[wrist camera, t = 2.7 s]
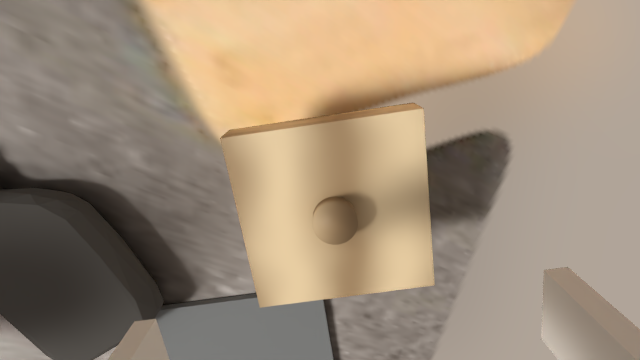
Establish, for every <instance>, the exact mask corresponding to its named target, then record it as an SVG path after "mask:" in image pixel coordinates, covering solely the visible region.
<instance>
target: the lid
mask: <svg viewBox="0 0 640 360" xmlns="http://www.w3.org/2000/svg"><path fill="white" fill-rule="evenodd" d="M220 139H221V144H222V148H223V152H224V157H225V161H226V165H227V169H228V174H229V178H230V182H231V186H232V191H233V195H234V199H235V204H236V208H237V212H238V216H239V221H240V225H241V229H242V234H243V238H244V242H245V246H246V251H247V255H248V259H249V263H250V268H251V272H252V276H253V281H254V285H255V289H256V293H257V298H258V302H259V306H260V308H261V307H269V306H277V305H284V304H292V303H300V302H308V301H315V300H323V299H331V298H339V297H347V296H354V295H362V294H370V293H378V292H385V291H393V290H401V289H409V288H416V287H424V286H432V285H434V271H433V254H432V238H431V221H430V205H429V189H428V172H427V156H426V140H425V123H424V108H422V107H420V106H418V105H416V104H415V103H409V104H401V105H394V106H388V107H381V108H374V109H367V110H361V111H354V112H347V113H340V114H334V115H327V116H320V117H313V118H307V119H300V120H293V121H286V122H280V123H273V124H266V125H259V126H253V127H246V128H239V129H232V130H229V131H228V132H227V133H226V134H224V135H223V136H222V137H221V138H220Z"/></svg>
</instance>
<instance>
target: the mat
mask: <svg viewBox="0 0 640 360" xmlns="http://www.w3.org/2000/svg"><path fill="white" fill-rule="evenodd" d="M154 319H156V321H157V324H158V327H159V330H160V333H161V336H162V339H163V342H164V345H165V348H166V351H167V354H168V357H169V360H334V358H333V352H332V346H331V340H330V334H329V328H328V322H327V316H326V311H325V305H324V299H323V300H315V301H308V302H300V303H292V304H284V305H277V306H269V307H261V308H260V306H259V302H258V298H257V293H255V294H247V295H240V296H232V297H224V298H217V299H209V300H201V301H194V302H186V303H178V304H171V305H163V306H162V307H161V310H160V311H159V313H158V314H157V316H156V317H155V318H154Z"/></svg>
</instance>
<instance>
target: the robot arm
mask: <svg viewBox="0 0 640 360" xmlns="http://www.w3.org/2000/svg"><path fill="white" fill-rule="evenodd" d="M541 339H542V340H543V341H544V342H545V344H546V345H547V346H548V348H549V349H550V350H551V352H553V354H554V355H555V357H556V358H557V359H558V360H640V329H639V328H638V327H636V326H635V325H634V324H633V323H632V322H631V321H629V320H628V319H627V318H626V317H625V316H624V315H623V314H621V313H620V312H619V311H618V310H617V309H616V308H614V307H613V306H612V305H611V304H610V303H609V302H607V301H606V300H605V299H604V298H603V297H602V296H601V295H599V294H598V293H597V292H596V291H595V290H594V289H592V288H591V287H590V286H589V285H588V284H587V283H586V282H584V281H583V280H582V279H581V278H580V277H579V276H577V275H576V274H575V273H574V272H573V271H572V270H571V269H569V268H568V267H564V268H556V269H548V270H544V280H543V307H542V335H541ZM108 360H169V357H168V354H167V351H166V348H165V345H164V342H163V339H162V336H161V333H160V330H159V327H158V324H157V321H156V319H150V320H142V321H134V323H133V324H132V326H131V327H130V328H129V330H128V331H127V333H126V334H125V336H124V337H123V339H122V340H121V341H120V343H119V344H118V346H117V347H116V349H115V350H114V352H113V353H112V354H111V356H110V357H109V359H108Z"/></svg>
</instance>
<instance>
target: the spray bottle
mask: <svg viewBox="0 0 640 360" xmlns="http://www.w3.org/2000/svg"><path fill="white" fill-rule="evenodd" d="M163 302H164V300H163V297H162V295H161V293H160V291H159V289H158V286H157V284H156V283H155V281H154V280H153V279H152V277H151V276H150V275H149V273H148V272H147V271H146V269H145V268H144V267H143V265H142V264H141V263H140V261H139V260H138V259H137V257H136V256H135V255H134V253H133V252H132V251H131V249H130V248H129V247H128V245H127V244H126V243H125V241H124V240H123V239H122V237H121V236H120V235H119V234H118V233H117V232H116V231H115V230H114V229H113V228H112V227H111V226H110V225H109V224H108V223H107V221H106V220H105V219H104V218H103V217H102V216H101V215H100V214H99V213H98V212H97V211H96V210H95V209H94V208H93V207H92V205H91V204H90V203H88V202H86V201H84V200H83V199H81V198H79V197H77V196H75V195H74V194H72V193H67V192H62V191H56V190H48V189H41V188H21V189H5V190H3V189H1V188H0V314H1V315H2V316H3V317H4V318H5V319H6V320H8V321H9V322H10V323H11V324H12V325H13V326H14V327H15V328H16V329H18V330H19V331H20V332H21V333H22V334H23V335H24V336H25V337H26V338H28V339H29V340H30V341H31V342H32V343H33V344H34V345H35V346H36V347H38V348H39V349H40V350H41V351H42V352H43V353H44V354H45V355H47V356H48V357H50V358H51V359H53V360H93V359H95V358H97V357H99V356H100V355H102V354H104V353H105V352H107V351H109V350H110V349H112V348H114V347H116V346H117V345H118V344H119V343H120V341H121V340H122V339H123V337H124V336H125V334H126V333H127V331H128V330H129V328H130V327H131V326H132V324H133V323H134V321H142V320H150V319H154V318H155V317H156V316H157V314H158V313H159V311H160V310H161V307H162V305H163Z"/></svg>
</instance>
